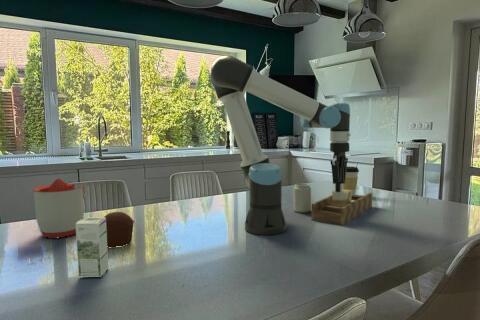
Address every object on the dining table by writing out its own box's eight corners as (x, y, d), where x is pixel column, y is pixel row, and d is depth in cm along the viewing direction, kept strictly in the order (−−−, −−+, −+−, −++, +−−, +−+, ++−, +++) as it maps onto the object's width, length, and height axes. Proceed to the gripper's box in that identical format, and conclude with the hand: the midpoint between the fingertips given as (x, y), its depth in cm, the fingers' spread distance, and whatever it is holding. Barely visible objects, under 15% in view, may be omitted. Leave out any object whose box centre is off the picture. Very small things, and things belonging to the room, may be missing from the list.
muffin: (132, 248, 107) (131, 217, 106) (95, 251, 105) (93, 219, 104) (136, 236, 118) (135, 208, 117) (102, 238, 116) (100, 210, 115)
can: (309, 209, 154) (310, 182, 152) (311, 213, 146) (311, 185, 145) (293, 208, 154) (293, 182, 153) (293, 213, 147) (294, 185, 146)
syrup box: (109, 269, 91) (106, 216, 90) (101, 279, 86) (98, 222, 84) (87, 269, 91) (84, 216, 90) (78, 279, 85) (74, 222, 84)
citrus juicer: (99, 230, 125) (96, 176, 123) (50, 244, 111) (46, 183, 109) (75, 223, 134) (72, 173, 132) (27, 236, 120) (23, 179, 118)
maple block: (346, 207, 140) (346, 192, 139) (332, 205, 143) (332, 191, 143) (351, 204, 144) (351, 190, 144) (337, 202, 148) (337, 189, 147)
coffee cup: (360, 194, 184) (361, 166, 182) (355, 198, 175) (356, 169, 174) (341, 192, 189) (342, 165, 187) (336, 196, 181) (337, 168, 179)
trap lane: (343, 225, 128) (343, 208, 128) (311, 219, 136) (311, 203, 136) (372, 206, 157) (372, 192, 156) (344, 202, 165) (344, 189, 164)
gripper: (342, 143, 131) (341, 203, 133) (354, 141, 141) (353, 197, 143) (324, 142, 135) (323, 201, 138) (337, 141, 145) (336, 195, 148)
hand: (339, 199), depth 140 cm, fingers closed
